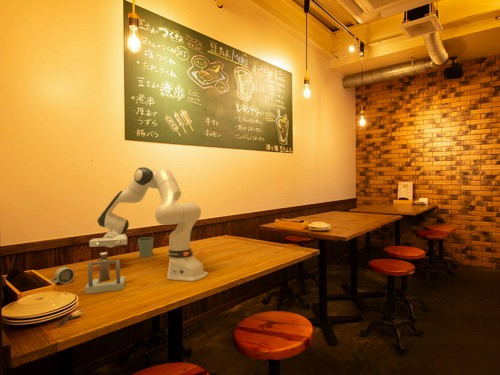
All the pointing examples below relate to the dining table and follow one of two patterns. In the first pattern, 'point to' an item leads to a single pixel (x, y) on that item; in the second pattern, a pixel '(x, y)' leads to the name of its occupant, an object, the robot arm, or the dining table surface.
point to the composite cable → (70, 317)
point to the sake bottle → (104, 268)
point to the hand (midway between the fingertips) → (107, 244)
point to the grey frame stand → (97, 287)
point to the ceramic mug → (63, 275)
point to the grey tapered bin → (145, 247)
